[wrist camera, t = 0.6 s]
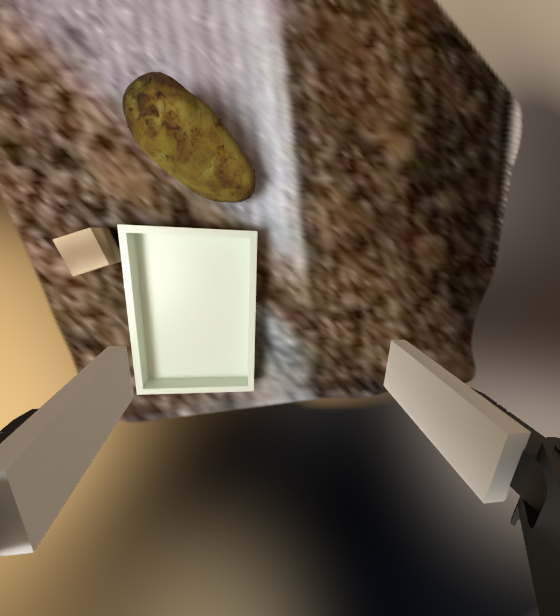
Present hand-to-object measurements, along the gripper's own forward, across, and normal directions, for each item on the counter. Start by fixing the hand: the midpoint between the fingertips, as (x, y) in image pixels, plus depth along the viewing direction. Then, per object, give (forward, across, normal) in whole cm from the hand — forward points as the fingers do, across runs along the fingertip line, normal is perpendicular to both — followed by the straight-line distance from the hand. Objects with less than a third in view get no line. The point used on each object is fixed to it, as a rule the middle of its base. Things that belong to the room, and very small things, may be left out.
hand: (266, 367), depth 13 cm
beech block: (+23, -18, +3) cm, 30 cm away
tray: (+23, -7, -4) cm, 24 cm away
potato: (+24, -6, +14) cm, 28 cm away
